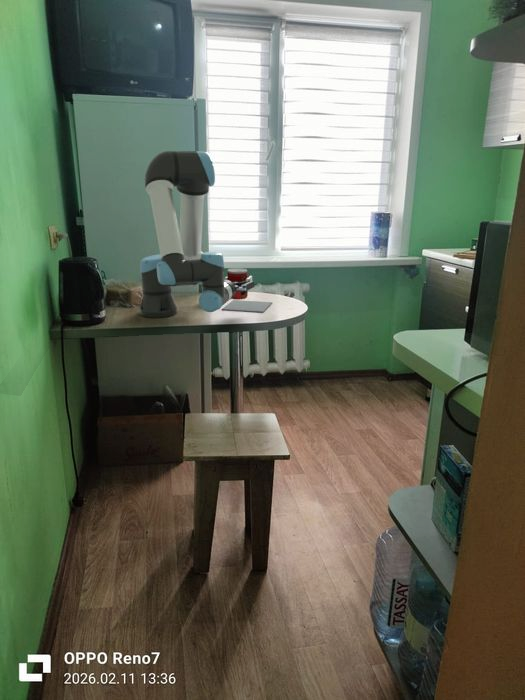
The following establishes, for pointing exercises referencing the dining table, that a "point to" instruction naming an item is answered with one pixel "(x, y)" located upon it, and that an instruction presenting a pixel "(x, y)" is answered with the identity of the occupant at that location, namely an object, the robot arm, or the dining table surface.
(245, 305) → the slate mat
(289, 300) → the dining table surface
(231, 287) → the robot arm
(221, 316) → the dining table surface
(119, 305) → the dining table surface
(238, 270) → the canned food
